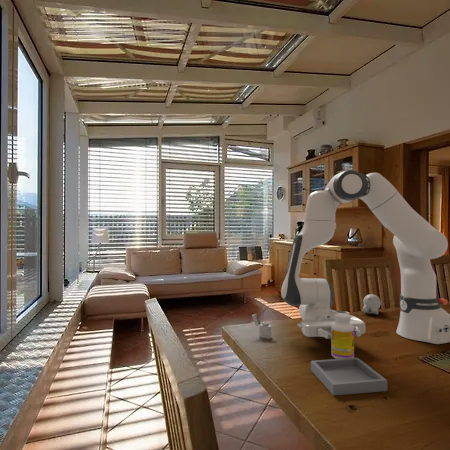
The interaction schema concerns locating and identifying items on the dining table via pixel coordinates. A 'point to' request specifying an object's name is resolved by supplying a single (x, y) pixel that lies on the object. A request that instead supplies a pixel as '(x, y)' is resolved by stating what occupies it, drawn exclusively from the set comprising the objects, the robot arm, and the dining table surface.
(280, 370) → the dining table surface
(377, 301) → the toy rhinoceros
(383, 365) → the dining table surface
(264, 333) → the lighter
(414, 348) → the dining table surface
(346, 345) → the supplement bottle
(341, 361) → the tray
